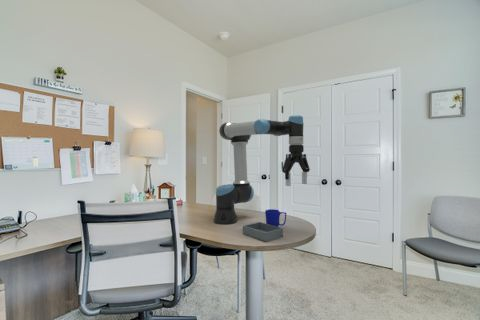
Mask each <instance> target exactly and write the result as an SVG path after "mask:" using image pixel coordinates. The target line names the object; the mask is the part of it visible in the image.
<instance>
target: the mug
mask: <svg viewBox="0 0 480 320" xmlns="http://www.w3.org/2000/svg"><path fill="white" fill-rule="evenodd" d="M282 214H283V215H284V220H283V221H284V222H283V223H280V217H281V215H282ZM264 215H265V224H269V225H273V226H276V227H279V226H281V227H283V226H285V224H286V221H287V212H285V211H284V212H283V211H280V210H279V209H274V208H273V209H272V208H271V209H266V210H265V213H264Z"/></svg>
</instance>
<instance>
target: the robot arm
mask: <svg viewBox="0 0 480 320" xmlns="http://www.w3.org/2000/svg"><path fill="white" fill-rule="evenodd" d="M218 131H219V134H220V135H219V136H220V137H221V138H222V139H224V140H227V141H230V144H231V145H232V146H233V163H234V164H233V166H234V181H233V182H232V184H231V183H230V184H228V183H227V184H222V185H219V186H217V187H216V190H215V200H216V201H215V204H216V206H215V208H216V209H215V213H214V217H213V223H215V224H218V225H231V224H235V223H237V222H238V217H237V213H236V210H235V205H237V204H241V203H242V204H243V203H244V204H246V203H248V202H251V200H252V199H253V198H254V195H255V191H254V188H253V186H252V185H251V184H250V183H251V182H250V181H249V180H248V164H247V145H248V144H249V141H250V139H251V137H252V136H254V135H273V136H275V137H276V136H277V137H280V136H286V135H288V145H289V146H288V152H289V153H286V154H285V160H284V162H283V167H282V169H281V172H282V173H284V179H285V186H287V187H291V184H292V183H291V180H292V179H291V170H292V168H293V166H294V165H295V164H296V163H298V166H299V167H300V169H301V170H302V171H301V184H303V185H307V184H308V173H309V172H310V171H311V168H310V165H309V162H308V159H307V154H306V153H303V152H304V150H305V149H304V145H303V144H304V117H303V116H302V115H299V114H296V115H295V114H294V115H290V116H288V120H286V121H285V120H283V121H278V120H269V119H265V118H260V119H259V118H258V119H256V120H253V121H246V122H238V123H237V122H230V121H229V122H224V123H222V124H221V125H220V126H219V129H218Z"/></svg>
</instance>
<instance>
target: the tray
mask: <svg viewBox="0 0 480 320" xmlns="http://www.w3.org/2000/svg"><path fill="white" fill-rule="evenodd" d="M242 235H244V236H247V237H251V238H252V239H256V240H258V241H262V242H264V243H268V242H271V241H275V240H277V239H282V238H284V228H282V227H279V226H278V227H276V226H273V225H269V224H266V222H261V221H258V222H254V223H249V224H245V225H242Z"/></svg>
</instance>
